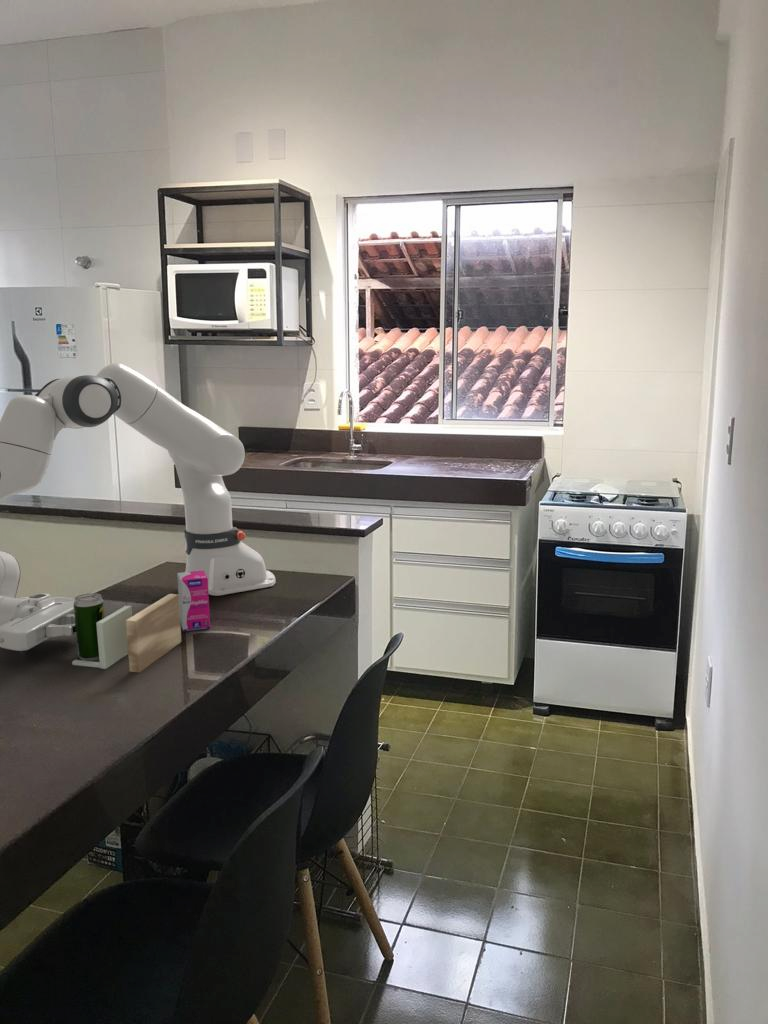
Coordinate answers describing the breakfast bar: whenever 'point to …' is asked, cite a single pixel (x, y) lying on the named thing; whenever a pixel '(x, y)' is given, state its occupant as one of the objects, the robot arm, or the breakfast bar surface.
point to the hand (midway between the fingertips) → (79, 627)
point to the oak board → (153, 632)
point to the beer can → (88, 624)
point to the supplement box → (193, 600)
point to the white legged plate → (110, 639)
